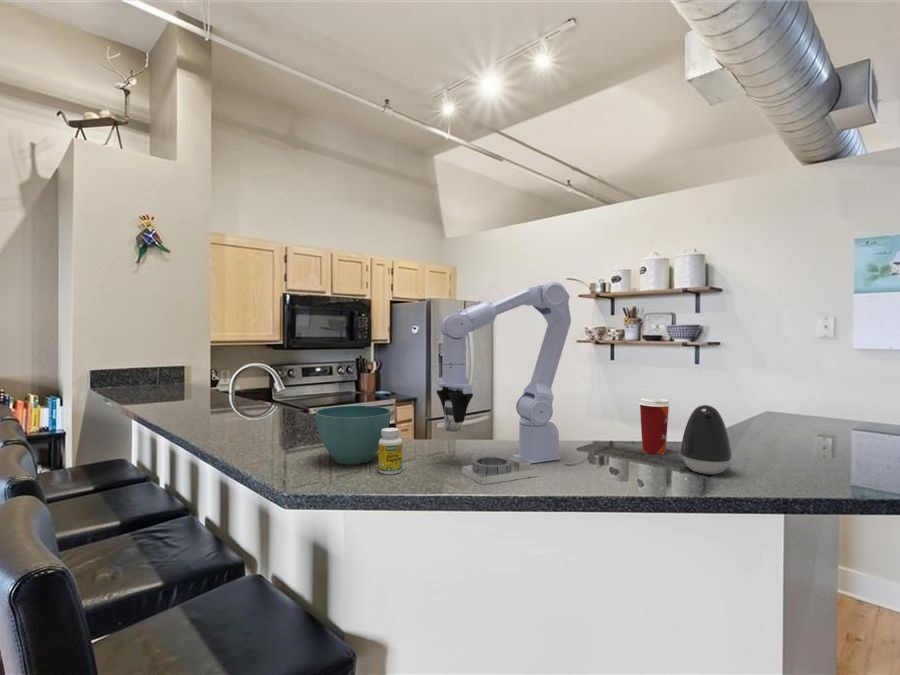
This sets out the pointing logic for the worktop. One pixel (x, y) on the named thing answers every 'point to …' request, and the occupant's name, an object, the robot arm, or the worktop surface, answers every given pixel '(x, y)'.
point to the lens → (451, 418)
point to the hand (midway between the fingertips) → (454, 420)
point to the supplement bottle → (390, 451)
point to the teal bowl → (352, 431)
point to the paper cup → (654, 424)
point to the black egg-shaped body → (706, 442)
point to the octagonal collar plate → (499, 469)
